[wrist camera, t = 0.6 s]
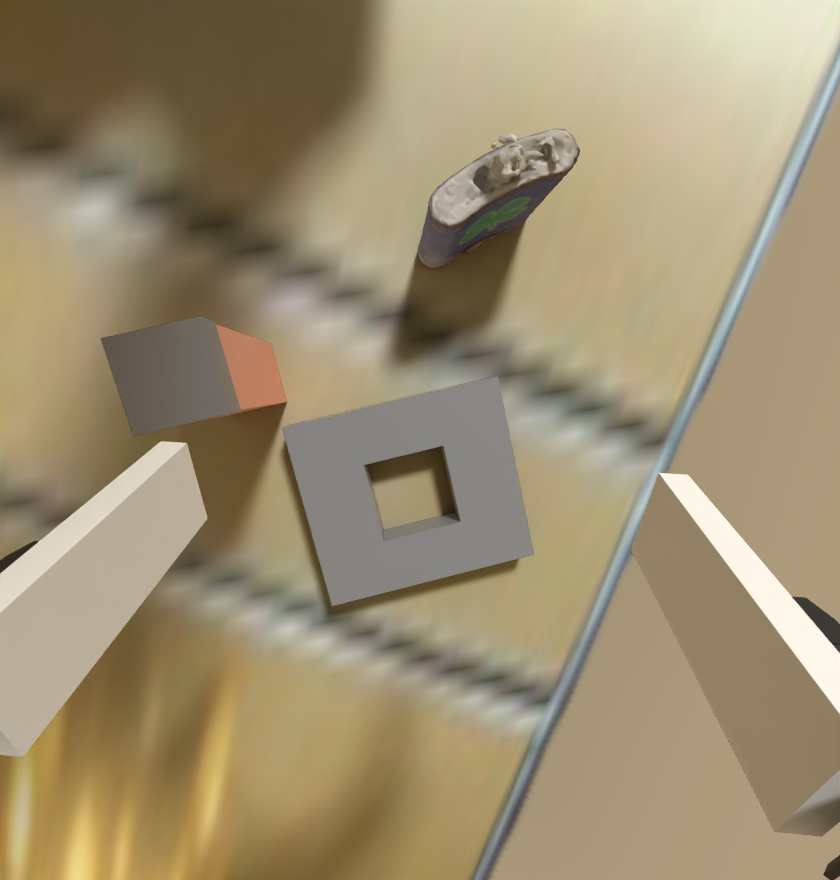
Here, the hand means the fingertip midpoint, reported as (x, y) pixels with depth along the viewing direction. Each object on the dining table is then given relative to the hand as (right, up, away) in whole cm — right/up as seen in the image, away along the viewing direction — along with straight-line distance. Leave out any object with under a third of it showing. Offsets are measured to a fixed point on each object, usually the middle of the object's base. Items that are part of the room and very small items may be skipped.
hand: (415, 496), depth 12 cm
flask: (+4, +17, +20) cm, 27 cm away
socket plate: (-1, -2, +22) cm, 22 cm away
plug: (-13, +6, +20) cm, 25 cm away
